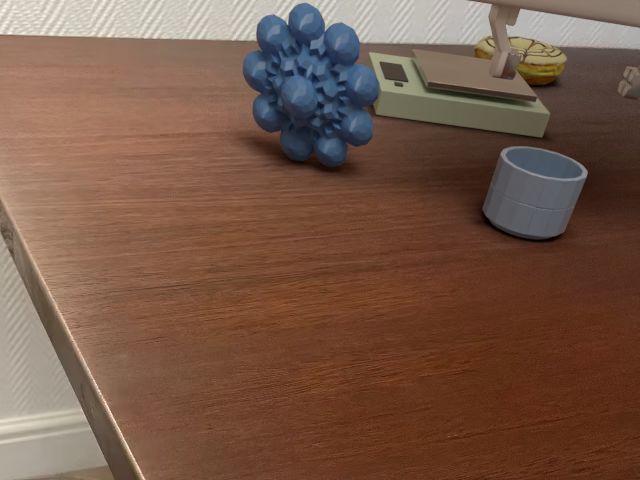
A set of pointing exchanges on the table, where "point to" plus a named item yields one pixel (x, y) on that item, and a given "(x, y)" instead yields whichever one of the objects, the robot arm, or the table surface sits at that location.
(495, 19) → the robot arm
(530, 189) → the cup
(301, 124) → the blue knobbed flower
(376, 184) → the table surface
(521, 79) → the scale pan
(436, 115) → the scale
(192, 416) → the table surface
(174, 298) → the table surface
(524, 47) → the decorated donut
